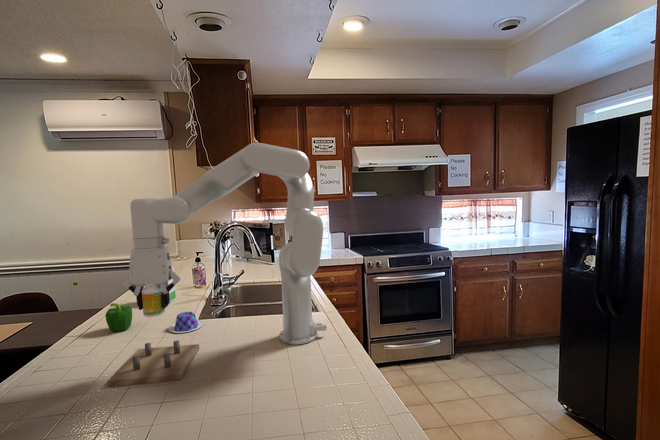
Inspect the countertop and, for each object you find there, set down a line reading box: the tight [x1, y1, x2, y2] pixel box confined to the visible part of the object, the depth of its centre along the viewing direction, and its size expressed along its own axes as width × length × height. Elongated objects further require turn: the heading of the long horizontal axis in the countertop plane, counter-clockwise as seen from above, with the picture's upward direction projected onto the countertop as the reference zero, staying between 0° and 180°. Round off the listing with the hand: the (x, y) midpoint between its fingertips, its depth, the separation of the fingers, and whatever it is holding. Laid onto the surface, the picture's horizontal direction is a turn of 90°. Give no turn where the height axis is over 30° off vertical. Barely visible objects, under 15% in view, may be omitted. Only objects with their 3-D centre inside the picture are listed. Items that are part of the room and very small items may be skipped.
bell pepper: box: [105, 302, 133, 332], centre depth 125 cm, size 8×8×10 cm
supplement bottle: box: [142, 284, 166, 318], centre depth 96 cm, size 5×5×10 cm
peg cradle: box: [107, 340, 200, 387], centre depth 98 cm, size 18×18×5 cm
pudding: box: [167, 311, 205, 334], centre depth 126 cm, size 12×12×5 cm
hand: (153, 306), depth 97 cm, fingers closed on supplement bottle, 5 cm apart
